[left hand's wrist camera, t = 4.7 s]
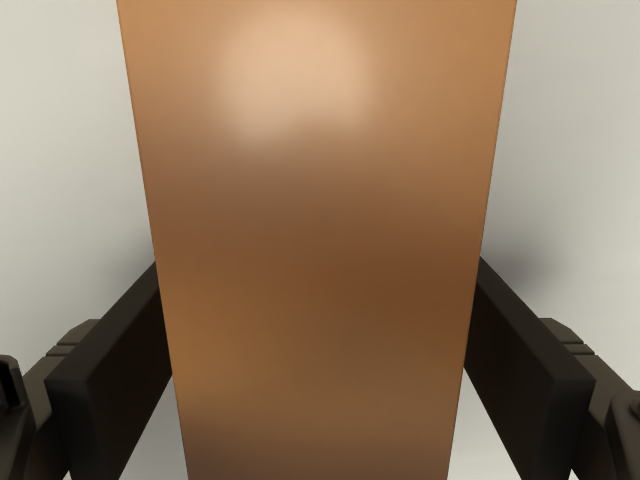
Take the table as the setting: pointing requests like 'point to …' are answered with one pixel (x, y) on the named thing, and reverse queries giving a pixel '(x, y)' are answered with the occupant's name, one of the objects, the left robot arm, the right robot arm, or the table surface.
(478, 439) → the table surface
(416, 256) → the bar
